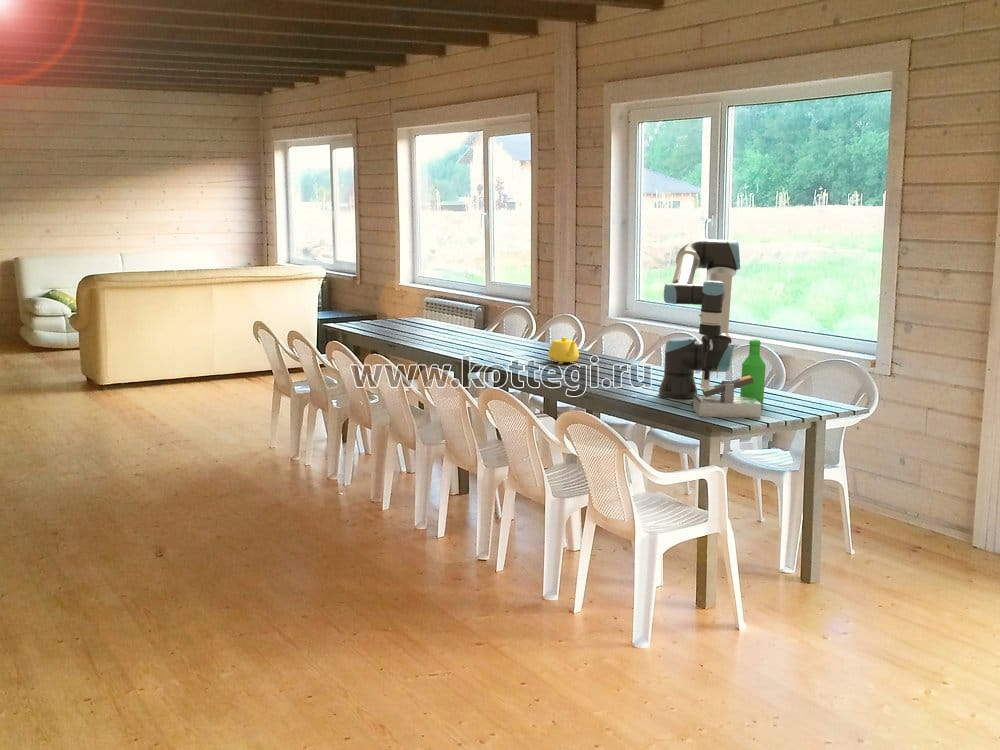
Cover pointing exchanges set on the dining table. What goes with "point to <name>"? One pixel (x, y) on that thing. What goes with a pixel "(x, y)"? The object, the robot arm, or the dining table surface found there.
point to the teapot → (563, 350)
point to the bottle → (754, 373)
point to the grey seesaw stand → (726, 405)
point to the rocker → (721, 387)
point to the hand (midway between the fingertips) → (704, 387)
